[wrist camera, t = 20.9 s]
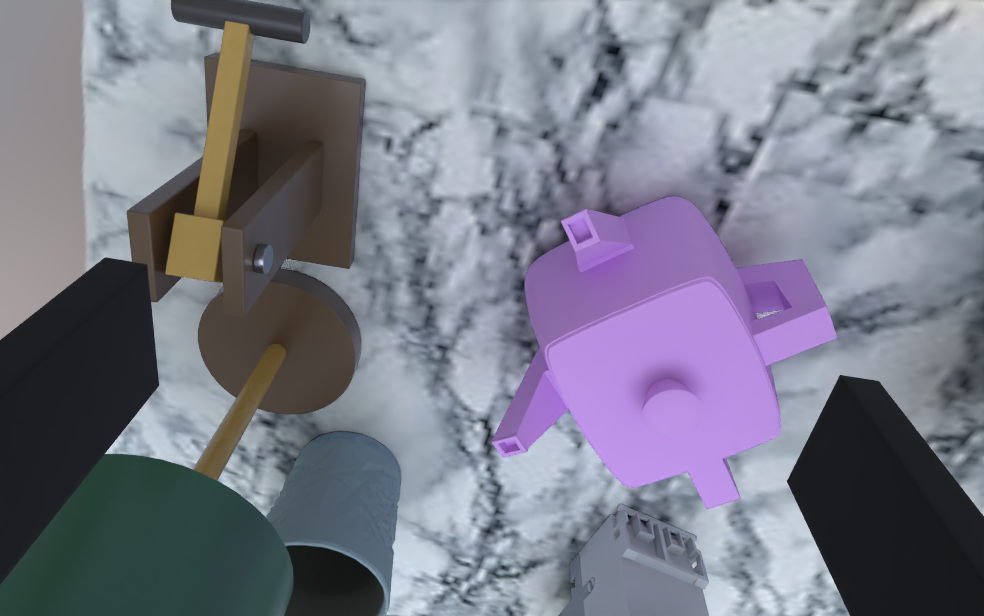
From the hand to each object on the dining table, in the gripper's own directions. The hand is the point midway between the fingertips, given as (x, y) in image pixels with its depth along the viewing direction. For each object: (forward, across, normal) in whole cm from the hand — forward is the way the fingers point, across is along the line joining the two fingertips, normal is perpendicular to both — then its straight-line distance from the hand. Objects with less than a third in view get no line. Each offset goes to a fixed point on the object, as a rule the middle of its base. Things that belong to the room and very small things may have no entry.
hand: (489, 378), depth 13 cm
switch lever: (+21, -13, -4) cm, 25 cm away
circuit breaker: (+31, +16, -40) cm, 53 cm away
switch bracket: (+31, -13, -8) cm, 34 cm away
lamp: (+31, -13, -21) cm, 39 cm away
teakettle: (+31, +10, -13) cm, 35 cm away
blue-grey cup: (+31, -8, -33) cm, 46 cm away
